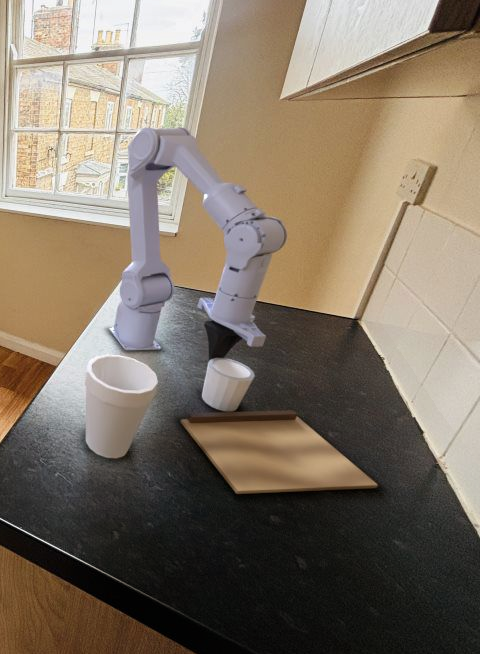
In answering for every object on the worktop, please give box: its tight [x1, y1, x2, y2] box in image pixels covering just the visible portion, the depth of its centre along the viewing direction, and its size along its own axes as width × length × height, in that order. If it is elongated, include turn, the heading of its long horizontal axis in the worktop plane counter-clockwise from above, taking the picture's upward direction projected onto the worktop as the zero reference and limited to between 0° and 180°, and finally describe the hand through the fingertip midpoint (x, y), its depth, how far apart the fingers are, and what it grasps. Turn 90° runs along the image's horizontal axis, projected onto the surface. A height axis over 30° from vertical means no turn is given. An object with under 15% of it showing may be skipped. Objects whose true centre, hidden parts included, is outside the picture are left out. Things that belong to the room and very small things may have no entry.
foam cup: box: [84, 353, 159, 459], centre depth 59 cm, size 10×9×13 cm
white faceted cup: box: [201, 357, 256, 412], centre depth 70 cm, size 7×7×7 cm
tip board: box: [180, 409, 379, 495], centre depth 60 cm, size 14×20×2 cm
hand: (215, 360), depth 73 cm, fingers closed, pressing on white faceted cup
